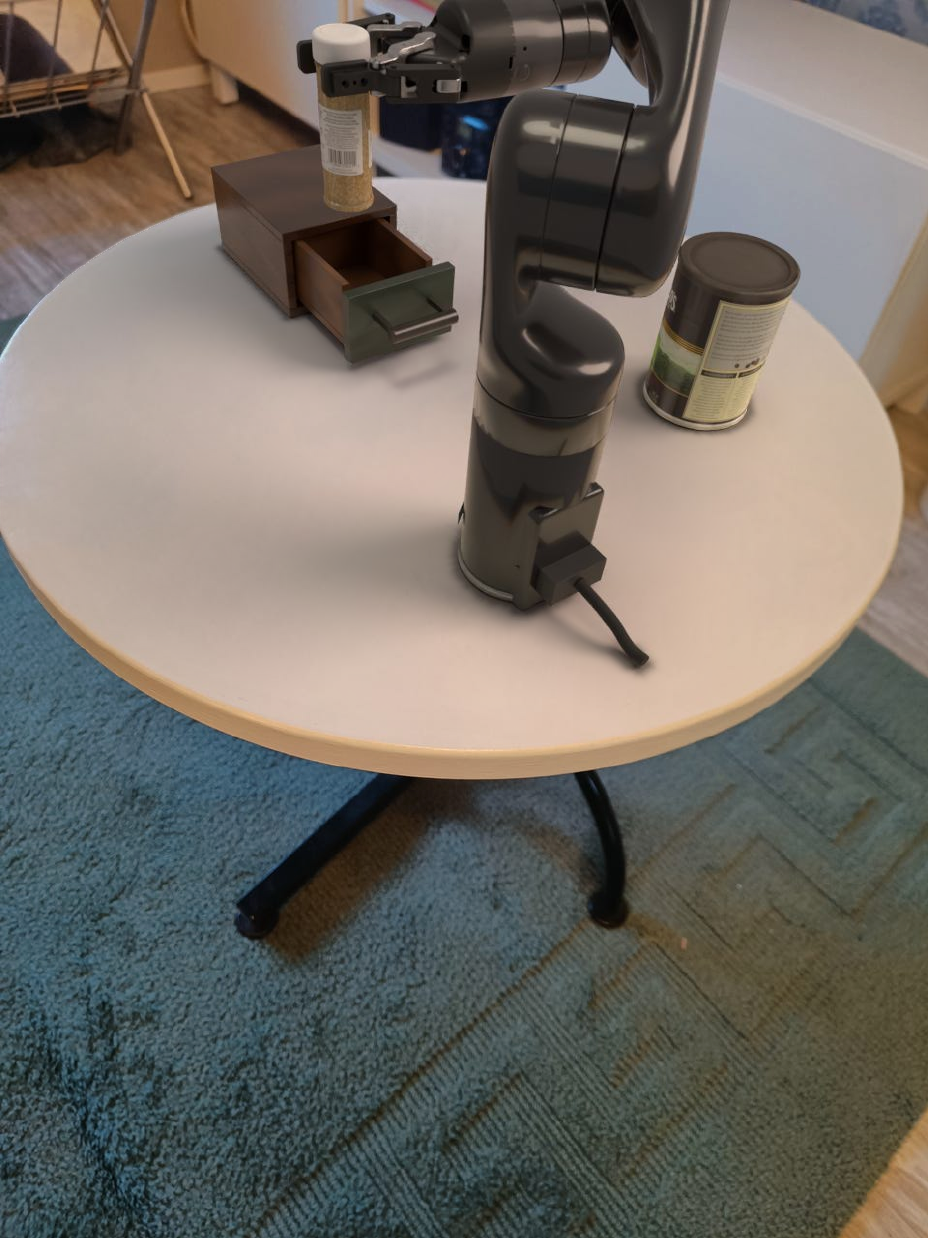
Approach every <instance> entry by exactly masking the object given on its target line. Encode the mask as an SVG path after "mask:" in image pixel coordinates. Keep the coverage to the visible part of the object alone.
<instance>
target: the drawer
mask: <svg viewBox="0 0 928 1238" xmlns="http://www.w3.org/2000/svg"><path fill="white" fill-rule="evenodd" d="M291 244H292V256H293V267H294V278H295V289H296V298H297V299H298V300H299V301H300V302H301V303H302V304H303V305H304V306H305V307H306V308H307V309H308V310H309V311H310V312H309V313H311V314H313V316H314V317H315V318H316V319H317V320H318V321H320V323H321V324H323V326H324V327H325V328H327V329H328V331H330V333H331V334H332V335H333V336H334V337H336V339H338V341H339V342H340V343H342V344H343V345H344V359H345V360H346V361H347V362H348V363H349V364H350V365H354V364H357V363H360V362H363V361H366V360H369V359H372V358H375V357H378V356H381V355H384V354H387V353H390V352H393V351H396V350H399V349H402V348H406V347H408V346H412V345H414V344H417V343H421V342H423V341H426V340H429V339H432V338H436V337H438V336H442V335H445V334H447V333H450V332H452V326H453V325H456V324H458V323H459V321H460V316H459V312H458V310H457V309H456V308H454V307H453V306H454V292H455V291H454V289H455V276H456V275H455V274H456V266H455V265H454V264H453V263H451V262H450V261H448V260H446V261H443V262H440V263H436V264H433V262H434V260H433V257H431V256H430V255H429V254H428V253H427V252H425V251H424V250H423V249H422V248H420V247H419V246H418V245H417V244H416V243H414V242H413V241H412V240H410V238H408V237H407V236H405V235H404V234H403V233H402V232H401V231H400V230H398V228H397V229H396V228H394V227H393V226H392V225H391V224H390V223H388V222H387V221H386V220H385V219H383V218H378V219H374V220H370V221H366V222H362V223H358V224H354V225H351V226H347V227H343V228H339V229H335V230H331V231H327V232H323V233H320V234H316V235H312V236H308V237H304V238H300V239H296V240H292V241H291Z"/></svg>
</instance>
